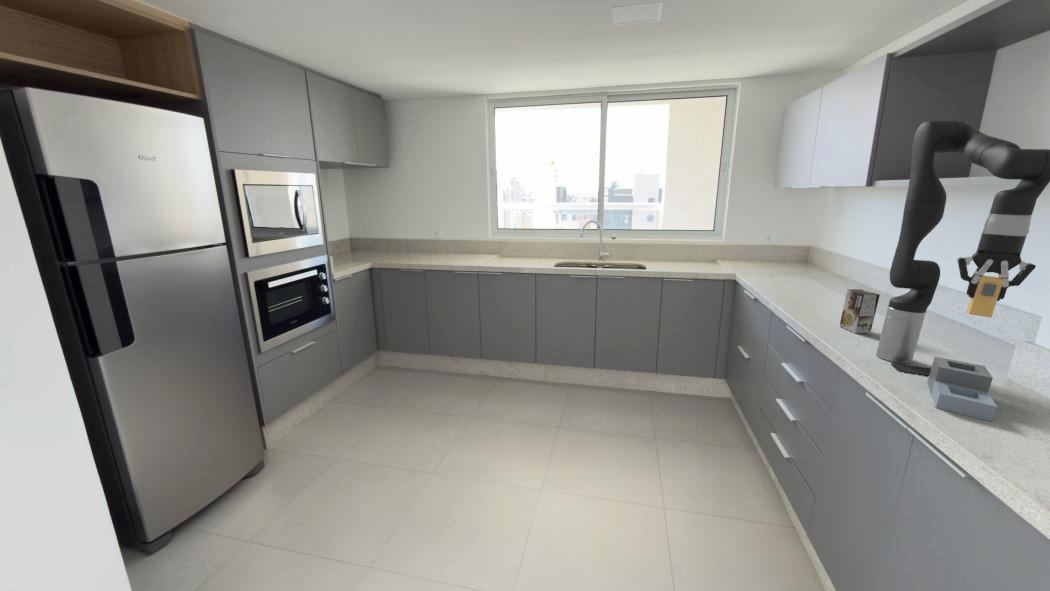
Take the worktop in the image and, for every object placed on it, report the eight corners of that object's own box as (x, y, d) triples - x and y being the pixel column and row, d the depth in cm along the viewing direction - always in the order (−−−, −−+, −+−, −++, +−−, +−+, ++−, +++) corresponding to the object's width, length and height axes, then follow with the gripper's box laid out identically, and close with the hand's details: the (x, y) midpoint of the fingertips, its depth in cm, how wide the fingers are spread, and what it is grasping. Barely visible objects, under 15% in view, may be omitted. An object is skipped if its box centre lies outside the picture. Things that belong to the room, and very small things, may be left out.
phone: (889, 362, 136) (949, 370, 130) (889, 364, 136) (949, 373, 130) (898, 370, 129) (962, 380, 123) (898, 373, 129) (961, 382, 123)
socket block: (927, 381, 123) (934, 356, 121) (975, 392, 117) (984, 366, 115) (935, 407, 107) (944, 379, 105) (992, 421, 101) (1002, 391, 99)
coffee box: (871, 334, 164) (881, 294, 160) (854, 333, 164) (864, 294, 160) (853, 326, 173) (862, 289, 169) (838, 326, 173) (846, 288, 169)
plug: (966, 311, 113) (977, 274, 110) (988, 314, 110) (999, 277, 108) (970, 314, 109) (981, 277, 107) (992, 318, 107) (1004, 280, 104)
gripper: (1042, 234, 103) (1019, 301, 108) (961, 229, 112) (943, 291, 116) (1052, 236, 98) (1028, 307, 102) (966, 231, 106) (947, 296, 110)
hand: (983, 298), depth 109 cm, fingers closed on plug, 4 cm apart
